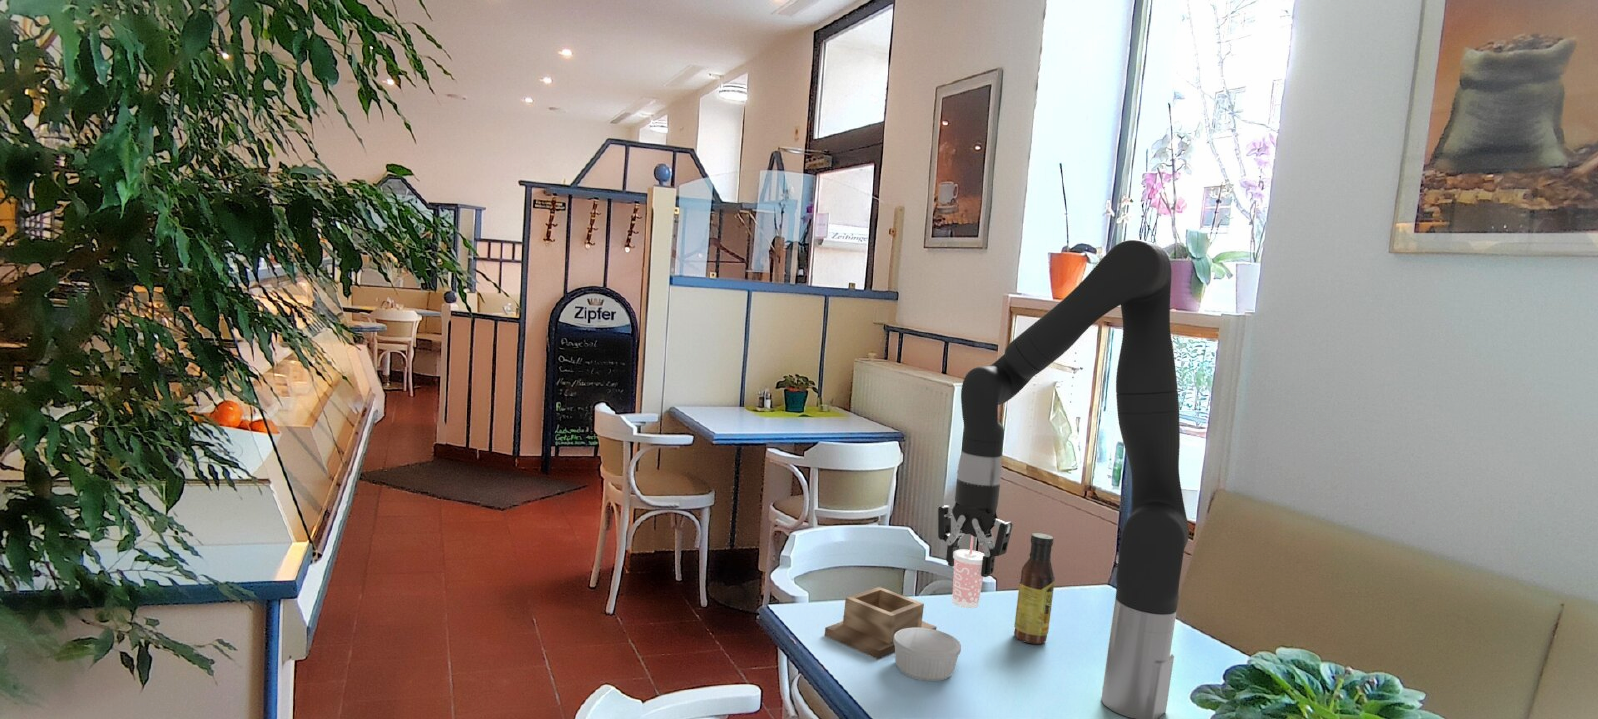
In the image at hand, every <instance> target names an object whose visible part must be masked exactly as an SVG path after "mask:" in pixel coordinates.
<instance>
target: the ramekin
mask: <svg viewBox="0 0 1598 719" xmlns="http://www.w3.org/2000/svg"><path fill="white" fill-rule="evenodd" d="M893 642H894V645H895V652H894V658H895V664H896V666H897V668H898V670H899V671H900V673H902V674H904V675H906V676H907V677H910V678H911V679H915V680H919V681H923V682H924V681H926V682H941V681H944V680H947V679H948V678H949V677H951V675H953V674H954V671H955V667H956V664H957V661H958V658H959V655H960V654H961V651H962V644H961V643H960V641H959V640H958V639H957V638H956V637H954V636H952V635H950V634H949V633H946V632H944V631H941V630H937V629H936V630H933V629H928V628H906V629H902V630H899V631H897V632H896V633H895V634H894V638H893Z"/></svg>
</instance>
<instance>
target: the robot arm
mask: <svg viewBox="0 0 1598 719" xmlns="http://www.w3.org/2000/svg"><path fill="white" fill-rule="evenodd" d="M1171 290H1172V263H1171V260H1170V257H1169V256H1168V253H1167V252H1166V251H1165V250H1164V249H1163V248H1162V247H1161V246H1159V245H1158V244H1156V243H1154V242H1151V241H1147V240H1142V239H1137V238H1136V239H1127V240H1123V241H1121V242H1118V243H1116V244H1115V245H1114V246H1113V247H1112V248H1110V249H1109V251H1108V252H1107V253H1106V254H1105V255H1104V256H1103V257H1102V259H1101V260H1100V261H1099V262H1097V264H1096V265H1095V266H1094V268H1092V270H1091V271H1090V272H1089V273H1088V274H1087V275H1086V277H1085V278H1084V279H1083V280H1082V281H1081V282H1080V283H1079V284H1078V285H1077V286H1076V287H1075V288H1074V289H1073V290H1072V291H1071V292H1070V293H1068V294H1067V295H1066V296H1065V297H1064V298H1063V299H1062V300H1061V301H1060V302H1058V304H1057V305H1055V306H1054V307H1053V308H1051V309H1050V310H1049V311H1047V312H1046V313H1045V314H1044V315H1043V316H1042V317H1040V318H1038V320H1037V321H1035V322H1034V323H1032V325H1030V326H1028V328H1026V329H1025V330H1024V331H1023V332H1022V333H1020V334H1019V335H1017V337H1016V338H1014V339H1012V341H1011V342H1010V343H1009V344H1008V345H1007V346H1006V348H1005V350H1004V354H1003V355H1002V356H1000V357H999V358H998V359H997V360H996V361H995V362H993V363H991V364H990V365H986V366H977V367H974V368H972V369H971V370H969V371H968V372H967V374H965V377H964V378H963V382H962V384H961V390H960V391H961V392H960V404H961V412H962V413H961V415H962V421H963V432H962V433H963V434H962V440H961V441H962V442H961V450H960V455H959V456H960V457H959V460H958V466H957V472H956V473H957V474H956V475H957V476H956V485H955V493H954V502H955V503H954V505H953V506H951V505H949V504H947V505H942V506H939V507H938V509H937V514H938V515H937V529H938V530H937V534H938V535H937V536H938V537H937V538H938V539H939V540H942V541H944V542H945V543H946V545H947V547H946V558H945V559H946V561H945V562H946V563H947V566H949V567H951V568H952V567H953V568H954V558H953V552H954V551H955V550H960V545H959V542H961V540H962V538H963V536H964V535H972V536H974V538H977V541H978V543H979V545H980V546H981V549H982V551H983V552H982V553H984V555H985V556H983V560H982V569H981V576H982V577H983V578H988V577H990V576H991V574H993V573H994V569H995V562H996V561H995V560H996V557H999V556H1003V555H1004V554H1005V555H1006V553H1007V552H1008V551H1007V550H1008V547H1009V541H1010V538H1011V533H1012V529H1013V522H1012V521H1004V520H1001V519H999V518H998V515H997V509H998V507H999V506H998V504H999V495H1000V488H1001V487H1000V486H1001V479H1002V469H1003V467H1002V464H1003V463H1002V458H1003V457H1002V455H1003V449H1004V448H1003V446H1004V439H1005V432H1004V431H1005V430H1004V426H1003V425H1002V424H1001V423H1000V422H999V406H1000V405H1003V404H1005V403H1007V402H1009V401H1010V400H1011V399H1012V398H1014V397H1015V396H1016V395H1018V393H1020V392H1021V390H1022V389H1023V388H1024V387H1025V386H1026V385H1027V384H1028V383H1030V381H1031V380H1032V379H1033V378H1034V377H1035V376H1037V375H1038V374H1040V372H1042V371H1043V370H1045V369H1046V368H1047V367H1048V366H1051V364H1052V363H1054V362H1055V361H1056V360H1058V359H1059V358H1060V357H1061V356H1062V355H1064V354H1065V353H1066V352H1067V351H1069V349H1070V348H1071V347H1073V345H1075V343H1076V342H1077V341H1078V340H1079V339H1080V338H1081V336H1082V335H1083V334H1084V333H1085V332H1086V331H1087V330H1088V329H1089V328H1091V326H1093V325H1094V324H1095V323H1096V322H1097V321H1098V320H1100V319H1101V318H1102V317H1104V315H1106V314H1107V313H1109V312H1110V311H1111V312H1112V310H1114V309H1115V308H1117V307H1119V306H1120V310H1121V318H1122V337H1121V338H1122V339H1121V345H1120V351H1119V356H1118V363H1117V368H1116V377H1115V379H1116V380H1115V392H1116V395H1115V396H1116V407H1117V408H1116V410H1117V419H1118V425H1119V431H1120V435H1121V438H1122V442H1123V445H1124V449H1125V452H1126V456H1127V460H1128V462H1129V468H1130V474H1131V510H1130V516H1128V518H1127V520H1126V521H1125V523H1124V525H1123V527H1122V532H1121V536H1120V537H1121V538H1120V545H1119V551H1118V560H1117V569H1116V576H1115V577H1116V578H1115V584H1116V593H1115V598H1114V605H1113V611H1112V618H1111V626H1110V633H1109V639H1108V640H1109V641H1108V647H1107V654H1106V655H1107V656H1106V662H1105V669H1104V670H1105V671H1104V675H1103V676H1104V677H1103V683H1102V691H1101V698H1100V700H1101V702H1102V703H1103V706H1105V707H1107V709H1109V710H1111V711H1113V712H1114V713H1116V714H1119V715H1120V716H1125V717H1128V718H1131V719H1159V718H1160V717H1162V716H1163V715H1164V714H1165V713H1166V712H1167V706H1168V698H1169V693H1170V688H1171V687H1170V686H1171V679H1172V674H1173V673H1172V672H1173V665H1174V660H1175V659H1174V658H1175V656H1174V654H1172V653H1171V652H1172V645H1173V644H1172V643H1173V638H1174V629H1175V623H1176V618H1177V617H1176V616H1177V610H1178V604H1179V598H1180V595H1179V594H1180V592H1179V591H1180V580H1181V573H1182V566H1183V560H1184V553H1185V548H1186V546H1187V544H1188V542H1189V537H1190V528H1189V522H1188V518H1187V513H1186V508H1185V503H1184V497H1183V492H1182V486H1181V477H1180V467H1179V466H1180V446H1181V445H1180V444H1181V441H1180V440H1181V438H1180V437H1181V433H1180V432H1181V429H1180V428H1181V427H1180V425H1181V424H1180V402H1179V390H1178V389H1179V387H1178V381H1177V371H1176V364H1175V363H1176V362H1175V353H1174V345H1173V340H1172V332H1171ZM952 517H953V518H954V520H955V522H956V523H955V524H954V525H953V528H952ZM994 527H995V531H996V533H997V536H996V540H995V536H994V533H993V530H992V529H993V528H994Z"/></svg>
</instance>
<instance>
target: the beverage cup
mask: <svg viewBox="0 0 1598 719" xmlns="http://www.w3.org/2000/svg"><path fill="white" fill-rule="evenodd" d="M970 535H971V534H970ZM974 538H975V537H974V536H972V535H971V536H970V542H969V543H970V545H969V549H964V548H963V549H960V548H959V550H955V551H954V552H953V558H954V567H953V581H952V582H953V583H952V598H951V599H952V600H951V601H952V604H953V605H954V606H957V607H960V608H963V609H976V608H978V607H979V604H980V597H981V591H982V586H983V581H984V580H983V579H984V577H982V576H981V569H982V560H983V556H985V555H984V552H981V551H977V550H973V549H974V548H973V547H974V540H975V539H974Z"/></svg>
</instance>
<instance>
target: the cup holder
mask: <svg viewBox="0 0 1598 719" xmlns="http://www.w3.org/2000/svg"><path fill="white" fill-rule="evenodd" d="M844 602H845V603H844V611H843V619H842V621H840V622H839V621H838V622H837V623H834V624H831V625H828V626H826V627H825V628H824V636H825V637H826V638H829V639H831V640H834V641H836V642H838V643H840V644H842V645H845V646H846V647H849V648H851V649H854V650H856V651H858V652H861V653H862V654H864V655H865V654H866V655H868V656H870V657H872V658H874V659H877V660H880V659H883V658H885V657H888V656H889V655H891V654H895V645H894V642H893V638H894V634H895V633H896V632H897V631H899V630H902V629H906V628H928V629H933V630H937V628H938V626H936V625H933V624H931V623H928V622H926V621H923V616H924V614H923V613H924V608H925V607H924V606H925V603H924V602H920V601H918V600H915V599H913V598H910V597H908V596H905V595H902V594H900V593H897V592H894V591H891V590H889V589H887V588H883V587H881V586H877V587H874V588H871V589H868V590H864V591H862V592H858V593H856V594H852V595H850V596H847V597H845V601H844Z"/></svg>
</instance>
